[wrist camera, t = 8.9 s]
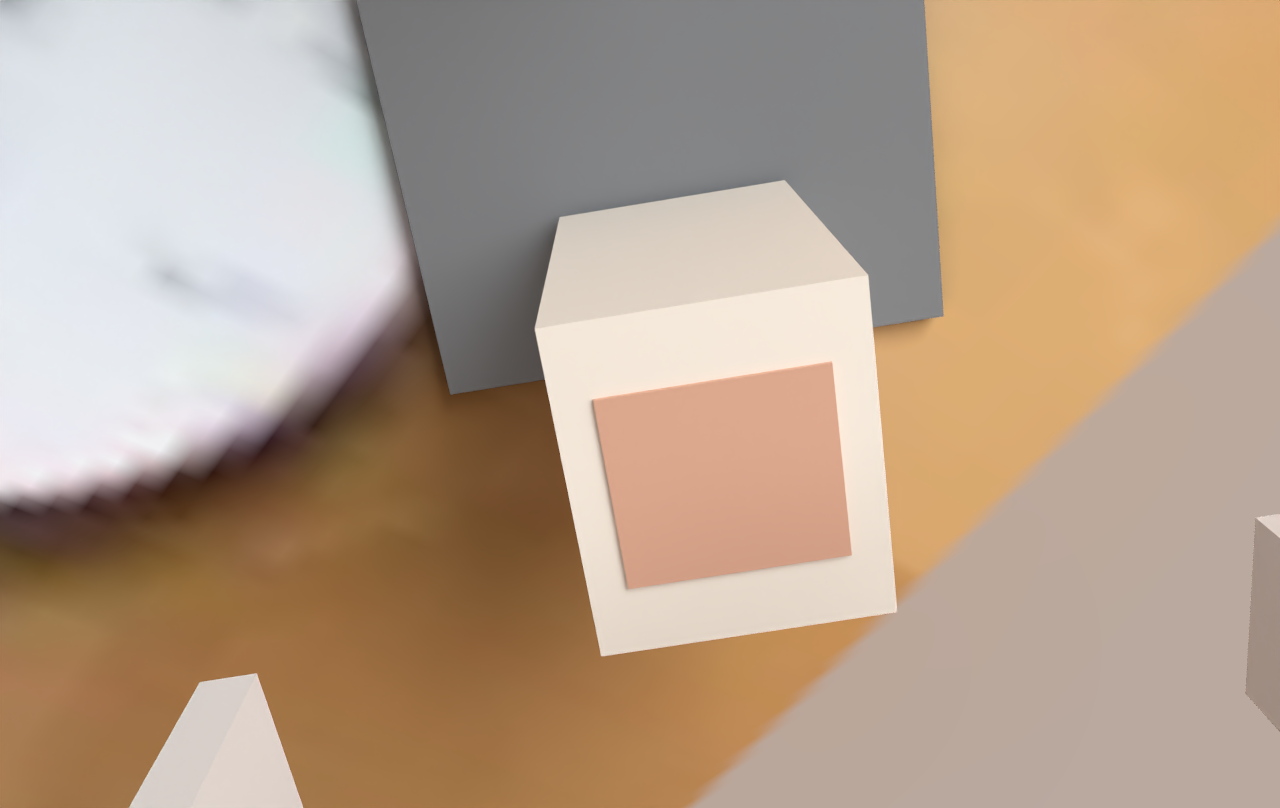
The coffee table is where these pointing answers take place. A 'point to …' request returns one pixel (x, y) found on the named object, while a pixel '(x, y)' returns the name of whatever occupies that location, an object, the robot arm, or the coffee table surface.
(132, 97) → the coffee table surface
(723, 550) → the box with pink panel
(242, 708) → the robot arm
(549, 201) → the mat
